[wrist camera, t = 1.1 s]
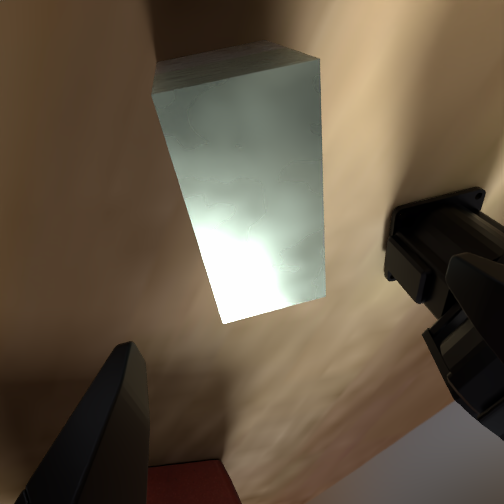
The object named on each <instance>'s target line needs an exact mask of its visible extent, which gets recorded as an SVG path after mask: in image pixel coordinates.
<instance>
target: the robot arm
mask: <svg viewBox="0 0 504 504" xmlns="http://www.w3.org/2000/svg"><path fill="white" fill-rule="evenodd" d="M485 194H486V192H485V190H484V189H482V188H480V187H474V188H470V189H466V190H462V191H458V192H454V193H450V194H446V195H442V196H438V197H434V198H430V199H426V200H422V201H418V202H414V203H410V204H406V205H402V206H398V207H396V208H395V209H394V210H393V212H392V217H391V225H390V233H389V238H388V241H387V249H386V257H385V274H384V275H385V277H386V279H387V280H388V281H395V280H397V281H398V282H399V284H400V285H401V286H402V287H403V288H404V290H405V291H406V292H407V293H408V294H409V296H410V297H411V298H412V299H413V300H414V301H415V302H416V303H418V304H421V303H424V304H425V306H426V307H427V308H428V309H429V310H430V311H431V313H432V314H433V315H434V316H435V317H436V318H437V319H438V321H437V322H436V323H435V324H434V325H433V326H432V327H431V328H427V329H426V330H425V331H424V332H423V333H422V336H423V338H424V340H425V342H426V344H427V346H428V348H429V350H430V352H431V354H432V356H433V358H434V360H435V363H436V365H437V367H438V369H439V371H440V373H441V375H442V377H443V379H444V381H445V383H446V385H447V387H448V389H449V391H450V393H451V395H452V397H453V398H454V400H455V401H456V402H457V403H459V404H460V405H461V406H462V407H463V408H464V409H465V410H466V411H467V412H468V413H469V414H470V415H471V416H472V417H474V418H475V419H476V420H478V421H479V422H480V423H481V424H482V425H484V426H485V427H487V428H488V429H489V430H490V431H492V432H493V433H495V434H496V435H497V436H499V437H500V438H501V439H502V440H503V441H504V226H502V225H501V224H499V223H498V222H496V221H495V220H493V219H492V218H490V217H489V216H487V215H486V214H484V213H482V212H481V211H480V210H481V207H482V204H483V201H484V197H485ZM400 213H401V215H399V214H400ZM149 434H150V417H149V401H148V387H147V373H146V364H145V360H144V358H143V356H142V355H141V353H140V351H139V350H138V348H137V346H136V345H135V343H134V342H132V341H129V342H126V343H122V344H118V345H117V346H116V347H115V348H114V349H113V351H112V353H111V354H110V356H109V357H108V359H107V360H106V362H105V363H104V365H103V367H102V368H101V370H100V371H99V373H98V374H97V376H96V377H95V379H94V381H93V382H92V384H91V385H90V387H89V388H88V390H87V391H86V393H85V395H84V396H83V398H82V399H81V401H80V402H79V404H78V405H77V407H76V409H75V410H74V412H73V413H72V415H71V416H70V418H69V419H68V421H67V423H66V424H65V426H64V427H63V429H62V430H61V432H60V433H59V435H58V437H57V438H56V440H55V441H54V443H53V444H52V446H51V447H50V449H49V451H48V452H47V454H46V455H45V457H44V458H43V460H42V461H41V463H40V465H39V466H38V468H37V469H36V471H35V472H34V474H33V475H32V477H31V478H30V480H29V482H28V483H27V485H26V489H25V490H23V491H22V492H21V494H20V495H19V497H18V498H17V500H16V502H15V503H14V504H146V501H147V478H148V456H149Z"/></svg>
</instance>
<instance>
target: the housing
mask: <svg viewBox="0 0 504 504" xmlns="http://www.w3.org/2000/svg"><path fill="white" fill-rule="evenodd" d="M151 95H152V98H153V102H154V105H155V108H156V111H157V114H158V118H159V121H160V124H161V127H162V130H163V133H164V137H165V140H166V143H167V146H168V149H169V152H170V156H171V159H172V162H173V165H174V168H175V172H176V175H177V178H178V181H179V184H180V187H181V191H182V194H183V197H184V200H185V203H186V207H187V210H188V213H189V216H190V219H191V222H192V226H193V229H194V232H195V235H196V238H197V241H198V245H199V248H200V251H201V254H202V257H203V261H204V264H205V267H206V270H207V273H208V276H209V280H210V283H211V286H212V289H213V292H214V296H215V299H216V302H217V305H218V308H219V311H220V315H221V318H222V321H223V324H224V323H227V322H231V321H235V320H239V319H242V318H246V317H250V316H254V315H258V314H261V313H265V312H269V311H273V310H276V309H280V308H284V307H288V306H292V305H295V304H299V303H303V302H307V301H310V300H314V299H318V298H322V297H326V286H325V246H324V206H323V166H322V125H321V85H320V59H319V58H316V57H313V56H310V55H307V54H304V53H301V52H299V51H296V50H293V49H290V48H287V47H284V46H281V45H278V44H275V43H273V42H270V41H267V40H262V41H257V42H252V43H248V44H243V45H238V46H233V47H228V48H223V49H218V50H214V51H209V52H204V53H199V54H194V55H189V56H185V57H180V58H175V59H170V60H165V61H160V62H157V64H156V70H155V76H154V82H153V88H152V94H151Z"/></svg>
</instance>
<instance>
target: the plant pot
mask: <svg viewBox="0 0 504 504" xmlns="http://www.w3.org/2000/svg"><path fill="white" fill-rule="evenodd" d="M146 504H242V503H241V501H240V499H239V496H238V494H237V492H236V490H235V487H234V485H233V483H232V481H231V479H230V477H229V475H228V473H227V471H226V469H225V467H224V465H223V463H222V462H221V461H219V460H210V461H201V462H193V463H184V464H176V465H167V466H159V467H150V468H148V478H147V501H146Z"/></svg>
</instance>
